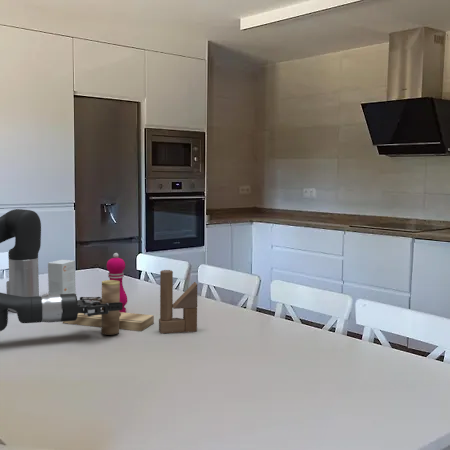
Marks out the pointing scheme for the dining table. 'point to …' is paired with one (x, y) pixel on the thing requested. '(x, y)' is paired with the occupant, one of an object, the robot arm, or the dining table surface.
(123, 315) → the board
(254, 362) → the dining table surface
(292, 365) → the dining table surface
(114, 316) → the wooden cylinder yellow top
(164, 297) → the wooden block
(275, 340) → the dining table surface
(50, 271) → the small box
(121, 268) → the pepper mill
